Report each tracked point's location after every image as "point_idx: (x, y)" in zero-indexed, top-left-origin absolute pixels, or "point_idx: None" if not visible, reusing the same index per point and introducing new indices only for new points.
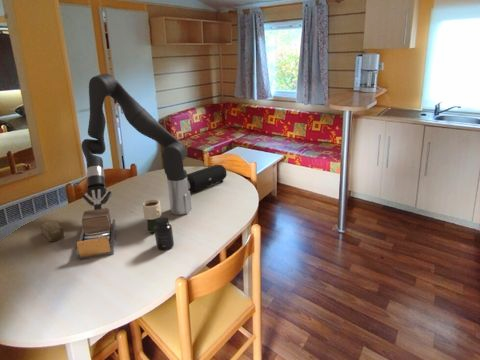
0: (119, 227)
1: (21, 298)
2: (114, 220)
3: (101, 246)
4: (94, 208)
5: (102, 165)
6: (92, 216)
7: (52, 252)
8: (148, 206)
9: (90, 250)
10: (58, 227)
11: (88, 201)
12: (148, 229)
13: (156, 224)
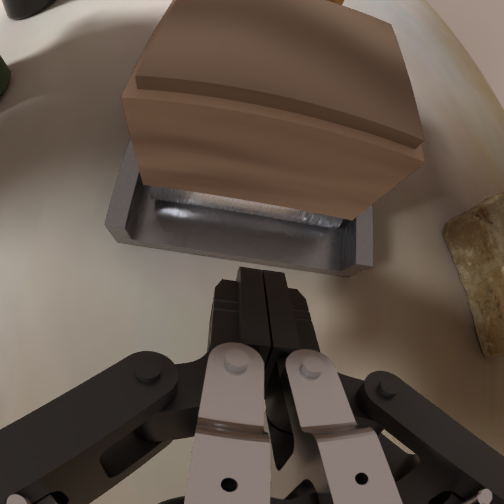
0: (105, 189)
1: (419, 8)
2: (113, 202)
3: None
4: (309, 322)
5: None
6: (316, 6)
7: (443, 126)
8: None
9: None
10: (499, 231)
11: (426, 410)
12: (5, 69)
13: None
